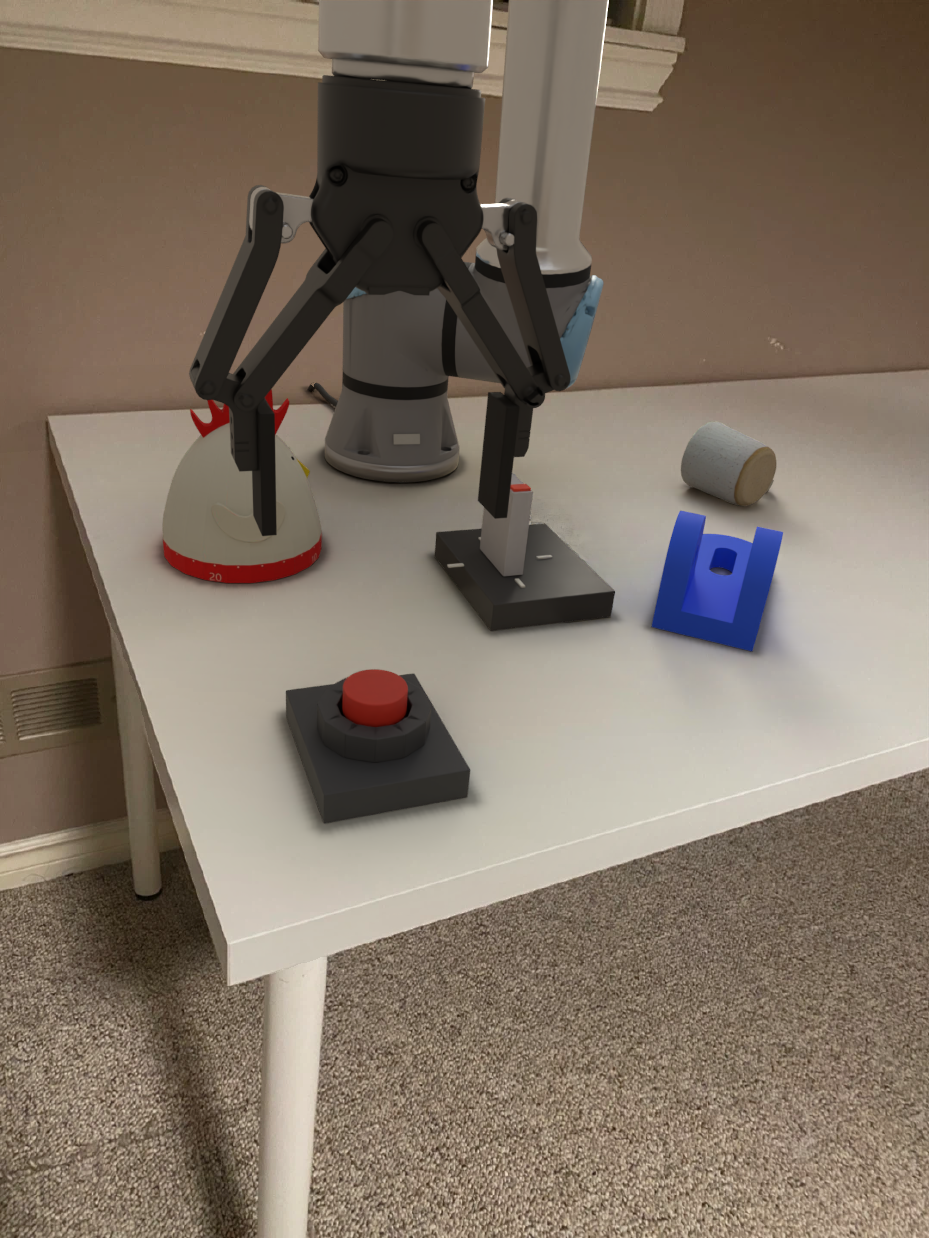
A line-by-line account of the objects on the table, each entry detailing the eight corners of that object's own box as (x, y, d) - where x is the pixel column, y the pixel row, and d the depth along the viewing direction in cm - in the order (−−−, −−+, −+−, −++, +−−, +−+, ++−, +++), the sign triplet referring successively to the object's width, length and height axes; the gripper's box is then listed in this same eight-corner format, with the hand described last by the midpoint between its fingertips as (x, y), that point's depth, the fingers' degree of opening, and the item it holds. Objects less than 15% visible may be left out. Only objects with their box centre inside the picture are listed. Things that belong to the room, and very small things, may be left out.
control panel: (420, 557, 87) (421, 531, 85) (541, 546, 91) (545, 521, 90) (475, 633, 75) (478, 604, 74) (611, 617, 80) (616, 589, 78)
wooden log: (733, 515, 102) (750, 447, 98) (673, 490, 107) (687, 424, 103) (787, 498, 108) (805, 433, 104) (727, 475, 113) (743, 412, 110)
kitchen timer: (332, 578, 82) (334, 408, 74) (165, 588, 78) (150, 410, 70) (308, 513, 93) (308, 361, 86) (162, 519, 89) (149, 360, 82)
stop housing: (285, 716, 64) (285, 666, 62) (412, 698, 67) (415, 650, 65) (323, 824, 55) (324, 770, 53) (467, 797, 58) (473, 745, 56)
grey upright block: (479, 548, 83) (487, 465, 80) (498, 547, 84) (507, 464, 80) (503, 576, 79) (513, 490, 75) (522, 574, 80) (533, 489, 76)
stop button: (335, 696, 60) (335, 673, 59) (395, 687, 61) (397, 665, 61) (351, 732, 57) (352, 709, 56) (414, 723, 58) (416, 699, 57)
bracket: (752, 651, 77) (779, 551, 72) (651, 626, 79) (671, 528, 74) (769, 565, 92) (792, 477, 87) (683, 546, 94) (702, 460, 89)
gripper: (605, 95, 49) (553, 480, 60) (106, 47, 41) (146, 504, 51) (682, 102, 43) (609, 528, 54) (115, 47, 35) (159, 565, 45)
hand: (383, 517), depth 53 cm, fingers open, 12 cm apart
